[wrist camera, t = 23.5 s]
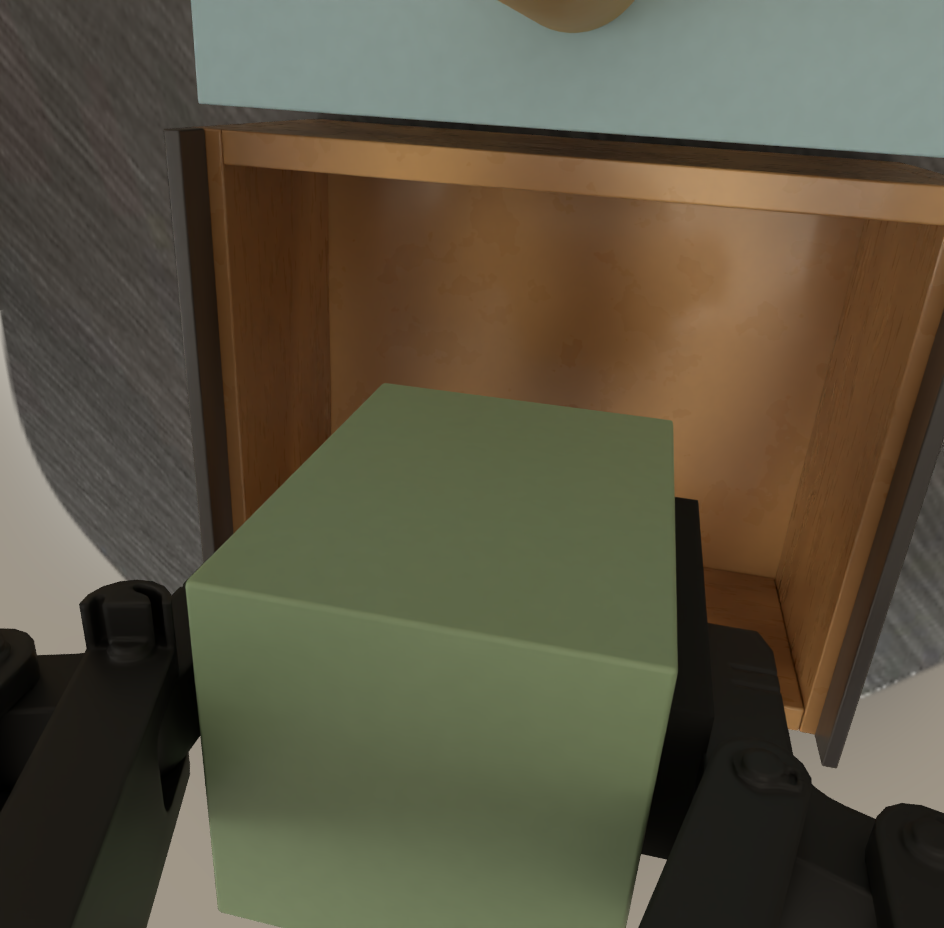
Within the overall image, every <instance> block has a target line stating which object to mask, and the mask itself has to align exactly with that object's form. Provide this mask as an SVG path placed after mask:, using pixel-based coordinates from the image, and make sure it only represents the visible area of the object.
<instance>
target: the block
mask: <svg viewBox="0 0 944 928" xmlns="http://www.w3.org/2000/svg"><path fill="white" fill-rule="evenodd" d="M185 588H186V597H187V607H188V617H189V627H190V637H191V647H192V657H193V667H194V677H195V687H196V696H197V706H198V716H199V726H200V736H201V746H202V755H203V765H204V775H205V786H206V795H207V805H208V814H209V825H210V835H211V845H212V855H213V865H214V874H215V884H216V894H217V904H218V910H219V911H220V912H222V913H226V914H230V915H234V916H238V917H242V918H246V919H250V920H254V921H258V922H262V923H266V924H270V925H274V926H278V927H282V928H626V924H627V920H628V915H629V909H630V905H631V899H632V895H633V890H634V885H635V880H636V875H637V871H638V865H639V861H640V856H641V851H642V846H643V841H644V836H645V831H646V827H647V822H648V817H649V812H650V807H651V802H652V797H653V792H654V787H655V782H656V778H657V773H658V768H659V763H660V758H661V753H662V748H663V743H664V738H665V733H666V729H667V724H668V719H669V714H670V709H671V704H672V699H673V694H674V689H675V684H676V680H677V675H678V649H677V596H676V543H675V490H674V437H673V422H672V421H671V420H665V419H657V418H649V417H642V416H634V415H626V414H619V413H611V412H603V411H596V410H588V409H580V408H573V407H565V406H557V405H550V404H542V403H534V402H527V401H519V400H511V399H504V398H496V397H488V396H481V395H473V394H465V393H458V392H450V391H442V390H435V389H427V388H419V387H412V386H404V385H396V384H389V383H384V384H382V385H381V386H380V387H379V388H378V389H377V390H376V391H375V392H374V393H373V394H372V395H371V396H370V397H369V398H368V399H367V400H366V401H365V402H364V403H363V404H362V405H361V406H360V407H359V408H358V409H357V410H356V411H355V412H354V413H353V414H352V415H351V416H350V417H349V418H348V419H347V420H346V421H345V422H344V423H343V424H342V425H341V426H340V427H339V428H338V429H337V430H336V431H335V432H334V433H333V434H332V435H331V436H330V437H329V438H328V439H327V440H326V441H325V442H324V443H323V444H322V445H321V446H320V447H319V448H318V449H317V450H316V451H315V452H314V453H313V454H312V455H311V456H310V457H309V458H308V459H307V460H306V461H305V462H304V463H303V464H302V465H301V466H300V467H299V468H298V469H297V470H296V471H295V472H294V473H293V474H292V475H291V476H290V477H289V478H288V479H287V480H286V481H285V482H284V483H283V484H282V485H281V486H280V487H279V488H278V489H277V490H276V491H275V492H274V493H273V494H272V496H271V497H270V498H269V499H268V500H267V501H266V502H265V503H264V504H263V505H262V506H261V507H260V508H259V509H258V510H257V511H256V512H255V513H254V514H253V515H252V516H251V517H250V518H249V519H248V520H247V521H246V522H245V523H244V524H243V525H242V526H241V527H240V528H239V529H238V530H237V531H236V532H235V533H234V534H233V535H232V536H231V537H230V538H229V539H228V540H227V541H226V542H225V543H224V544H223V545H222V546H221V547H220V548H219V549H218V550H217V551H216V552H215V553H214V554H213V555H212V556H211V557H210V558H209V559H208V560H207V561H206V562H205V563H204V564H203V565H202V566H201V567H200V568H199V569H198V570H197V571H196V572H195V573H194V574H193V575H192V576H191V577H190V578H189V579H188V580H187V582H186V586H185Z"/></svg>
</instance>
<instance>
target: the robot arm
mask: <svg viewBox="0 0 944 928" xmlns="http://www.w3.org/2000/svg"><path fill="white" fill-rule="evenodd" d="M675 543H676V596H677V649H678V675H677V680H676V684H675V689H674V694H673V699H672V704H671V709H670V714H669V719H668V724H667V729H666V733H665V738H664V743H663V748H662V753H661V758H660V763H659V768H658V773H657V778H656V782H655V787H654V792H653V797H652V802H651V807H650V812H649V817H648V822H647V827H646V831H645V836H644V841H643V846H642V851H641V854H644V855H649V856H653V857H658V858H663V859H667V861H666V864H665V866H664V868H663V871H662V873H661V876H660V878H659V881H658V883H657V885H656V887H655V890H654V892H653V894H652V897H651V899H650V901H649V904H648V906H647V909H646V911H645V913H644V916H643V918H642V920H641V923H640V925H639V928H944V813H942V812H939V811H936V810H933V809H931V808H928V807H925V806H922V805H915V804H905V803H900V804H897V805H893V806H888V807H886V808H885V809H884V810H883V811H882V812H881V813H880V814H879V815H878V816H877V818H876V819H874V818H872V817H870V816H867V815H865V814H863V813H860V812H858V811H856V810H854V809H851V808H849V807H846V806H844V805H843V804H841V803H839V802H837V801H835V800H833V799H831V798H829V797H828V796H826V795H825V794H824V793H822V792H821V791H820V790H818V789H817V788H815V787H814V786H813V785H812V783H811V777H810V775H809V773H808V772H807V770H806V768H805V767H804V765H803V764H802V763H801V762H800V761H799V760H798V759H797V758H796V757H795V756H794V755H793V752H792V747H791V742H790V737H789V732H788V726H787V721H786V715H785V710H784V705H783V700H782V694H781V693H780V684H779V679H778V676H777V668H776V663H775V658H774V652H773V650H772V649H771V648H770V647H769V645H768V644H767V643H766V642H765V640H764V639H763V638H762V636H761V635H760V634H759V633H758V631H753V630H747V629H741V628H735V627H730V626H724V625H718V624H712V623H708V622H707V609H706V596H705V582H704V569H703V556H702V543H701V530H700V516H699V503H698V500H694V499H687V498H680V497H675ZM210 557H211V556H210ZM210 557H209V558H210ZM209 558H208V559H209ZM208 559H207V560H208ZM207 560H206V561H207ZM206 561H205V562H206ZM205 562H204V563H205ZM204 563H203V564H204ZM203 564H202V565H203ZM202 565H201V566H202ZM201 566H200V567H201ZM200 567H199V568H200ZM199 568H198V569H199ZM198 569H197V570H198ZM197 570H196V571H197ZM196 571H195V572H196ZM186 582H187V581H186ZM186 582H185V583H184V584H183V587H180V588H179V589H178V590H177V591H176V592H175V593H174V594H173V595H172V596H171V594H170V593H169V591H168V590H167V589H166V588H165V586H162V585H160V584H157V583H155V582H153V581H143V580H130V581H120V582H117V583H113V584H110V585H106V586H103V587H101V588H99V589H97V590H95V591H94V592H92V593H90V594H88V595H87V596H86V597H85V599H83V601H82V602H81V603H80V604H79V605H80V612H81V618H82V624H83V630H84V636H85V641H86V647H87V649H86V651H85V653H80V654H61V655H37V654H36V649H35V645H34V640H33V639H32V638H31V637H30V636H29V635H28V634H27V633H26V632H23V631H19V630H16V629H0V928H146V927H147V923H148V920H149V917H150V913H151V909H152V906H153V902H154V899H155V895H156V892H157V888H158V885H159V881H160V878H161V874H162V871H163V867H164V864H165V860H166V857H167V853H168V850H169V846H170V842H171V839H172V835H173V832H174V829H175V825H176V821H177V818H178V814H179V811H180V807H181V804H182V800H183V797H184V793H185V790H186V786H187V783H188V779H189V776H190V761H189V750H190V749H191V748H192V746H193V745H194V743H195V742H196V741H197V739H198V738H199V737H200V726H199V716H198V706H197V696H196V687H195V677H194V667H193V657H192V647H191V637H190V627H189V617H188V607H187V597H186V588H185V586H186Z"/></svg>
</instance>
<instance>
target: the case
mask: <svg viewBox="0 0 944 928" xmlns="http://www.w3.org/2000/svg"><path fill="white" fill-rule="evenodd" d="M164 139H165V150H166V161H167V172H168V183H169V194H170V205H171V216H172V226H173V237H174V248H175V259H176V270H177V281H178V292H179V303H180V314H181V325H182V336H183V347H184V358H185V369H186V380H187V391H188V402H189V413H190V423H191V434H192V445H193V456H194V467H195V478H196V489H197V500H198V511H199V522H200V533H201V544H202V555H203V563H204V562H205V561H206V560H207V559H208V558H209V557H210V556H212V555H213V554H214V553H215V552H216V551H217V550H218V549H219V548H220V547H221V546H222V545H223V544H224V543H225V542H226V541H227V540H228V539H229V538H230V537H231V536H232V535H233V534H234V533H235V532H236V531H237V530H238V529H239V528H240V527H241V526H242V525H243V524H244V523H245V522H246V521H247V520H248V519H249V518H250V517H251V516H252V515H253V514H254V513H255V512H256V511H257V510H258V509H259V508H260V507H261V506H262V505H263V504H264V503H265V502H266V501H267V500H268V499H269V498H270V497H271V496H272V494H273V493H274V492H275V491H276V490H277V489H278V488H279V487H280V486H281V485H282V484H283V483H284V482H285V481H286V480H287V479H288V478H289V477H290V476H291V475H292V474H293V473H294V472H295V471H296V470H297V469H298V468H299V467H300V466H301V465H302V464H303V463H304V462H305V461H306V460H307V459H308V458H309V457H310V456H311V455H312V454H313V453H314V452H315V451H316V450H317V449H318V448H319V447H320V446H321V445H322V444H323V443H324V442H325V441H326V440H327V439H328V438H329V437H330V436H331V435H332V434H333V433H334V432H335V431H336V430H337V429H338V428H339V427H340V426H341V425H342V424H343V423H344V422H345V421H346V420H347V419H348V418H349V417H350V416H351V415H352V414H353V413H354V412H355V411H356V410H357V409H358V408H359V407H360V406H361V405H362V404H363V403H364V402H365V401H366V400H367V399H368V398H369V397H370V396H371V395H372V394H373V393H374V392H375V391H376V390H377V389H378V388H379V387H380V386H381V385H382V384H384V383H389V384H396V385H404V386H412V387H419V388H427V389H435V390H442V391H450V392H458V393H465V394H473V395H481V396H488V397H496V398H504V399H511V400H519V401H527V402H534V403H542V404H550V405H557V406H565V407H573V408H580V409H588V410H596V411H603V412H611V413H619V414H626V415H634V416H642V417H649V418H657V419H665V420H671V421H672V422H673V437H674V490H675V497H680V498H687V499H694V500H698V503H699V516H700V530H701V543H702V556H703V569H704V582H705V596H706V609H707V622H708V623H712V624H718V625H724V626H730V627H735V628H741V629H747V630H753V631H758V633H759V634H760V635H761V636H762V638H763V639H764V640H765V642H766V643H767V644H768V645H769V647H770V648H771V649H772V650H773V652H774V658H775V663H776V668H777V676H778V679H779V684H780V693H781V694H782V700H783V705H784V710H785V715H786V721H787V726H788V729H792V730H798V729H799V730H800V731H801V732H804V733H810V734H815V738H816V742H817V747H818V751H819V755H820V759H821V763H822V765H823V766H826V767H831V768H837V766H838V763H839V760H840V757H841V754H842V751H843V747H844V744H845V741H846V738H847V735H848V732H849V729H850V725H851V723H852V719H853V716H854V714H855V711H856V707H857V704H858V701H859V698H860V695H861V692H862V689H863V686H864V683H865V680H866V677H867V673H868V670H869V667H870V664H871V661H872V658H873V655H874V652H875V649H876V646H877V643H878V640H879V636H880V633H881V630H882V627H883V624H884V621H885V618H886V615H887V612H888V609H889V606H890V602H891V599H892V596H893V593H894V590H895V587H896V584H897V581H898V578H899V575H900V572H901V569H902V565H903V562H904V559H905V556H906V553H907V550H908V547H909V544H910V541H911V538H912V535H913V532H914V528H915V525H916V522H917V519H918V516H919V513H920V510H921V507H922V504H923V501H924V498H925V494H926V491H927V488H928V485H929V482H930V479H931V476H932V473H933V470H934V467H935V464H936V461H937V457H938V454H939V451H940V448H941V445H942V442H943V439H944V174H940V173H937V172H933V171H929V170H926V169H922V168H919V167H915V166H912V165H908V164H904V163H901V162H890V161H877V160H863V159H850V158H836V157H823V156H809V155H796V154H782V153H769V152H755V151H742V150H728V149H715V148H701V147H688V146H675V145H661V144H648V143H634V142H621V141H607V140H594V139H580V138H567V137H553V136H540V135H526V134H513V133H499V132H486V131H472V130H459V129H445V128H432V127H418V126H405V125H391V124H378V123H364V122H351V121H337V120H324V119H306V120H305V119H303V120H288V121H274V122H259V123H244V124H230V125H215V126H200V127H185V128H170V129H164Z"/></svg>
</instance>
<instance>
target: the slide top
mask: <svg viewBox="0 0 944 928" xmlns="http://www.w3.org/2000/svg"><path fill="white" fill-rule="evenodd" d="M191 9H192V23H193V36H194V50H195V63H196V77H197V90H198V102H199V103H200V104H208V105H221V106H235V107H249V108H263V109H276V110H290V111H304V112H318V113H331V114H345V115H359V116H373V117H386V118H400V119H414V120H428V121H441V122H455V123H469V124H483V125H496V126H510V127H524V128H538V129H551V130H565V131H579V132H593V133H606V134H620V135H634V136H648V137H661V138H675V139H689V140H703V141H716V142H730V143H744V144H758V145H771V146H785V147H799V148H813V149H827V150H840V151H854V152H868V153H882V154H895V155H909V156H923V157H937V158H944V0H191Z"/></svg>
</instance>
